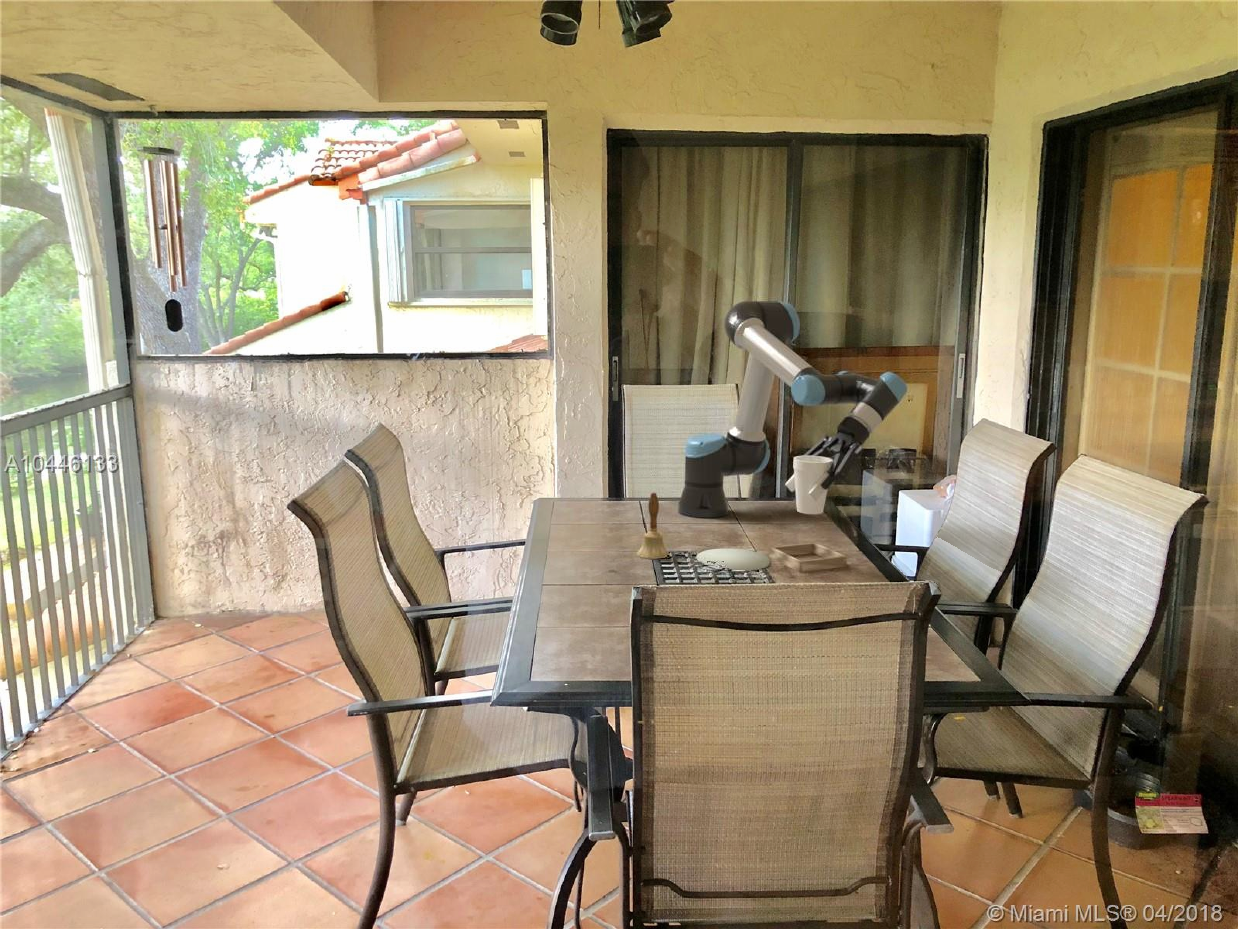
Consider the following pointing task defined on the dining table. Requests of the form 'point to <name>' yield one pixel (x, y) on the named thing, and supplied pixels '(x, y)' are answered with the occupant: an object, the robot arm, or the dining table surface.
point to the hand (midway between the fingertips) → (800, 492)
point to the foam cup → (810, 482)
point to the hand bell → (653, 535)
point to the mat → (734, 558)
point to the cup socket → (827, 562)
